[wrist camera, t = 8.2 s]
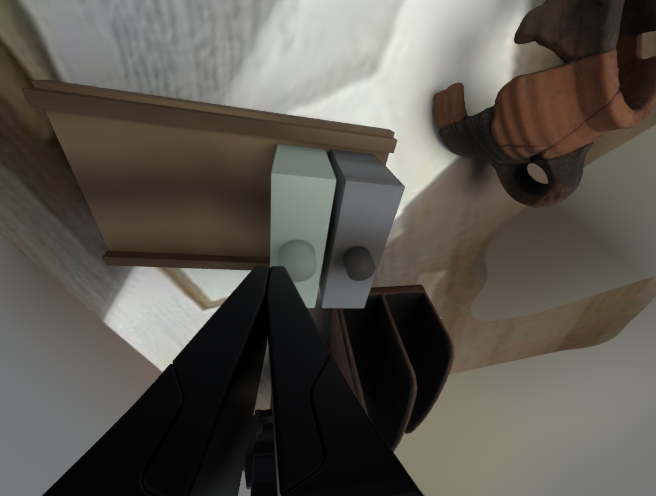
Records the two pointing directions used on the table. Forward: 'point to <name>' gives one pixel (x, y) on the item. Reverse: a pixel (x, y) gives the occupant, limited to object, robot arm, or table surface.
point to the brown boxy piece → (217, 182)
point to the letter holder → (393, 357)
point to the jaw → (301, 214)
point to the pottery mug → (559, 97)
